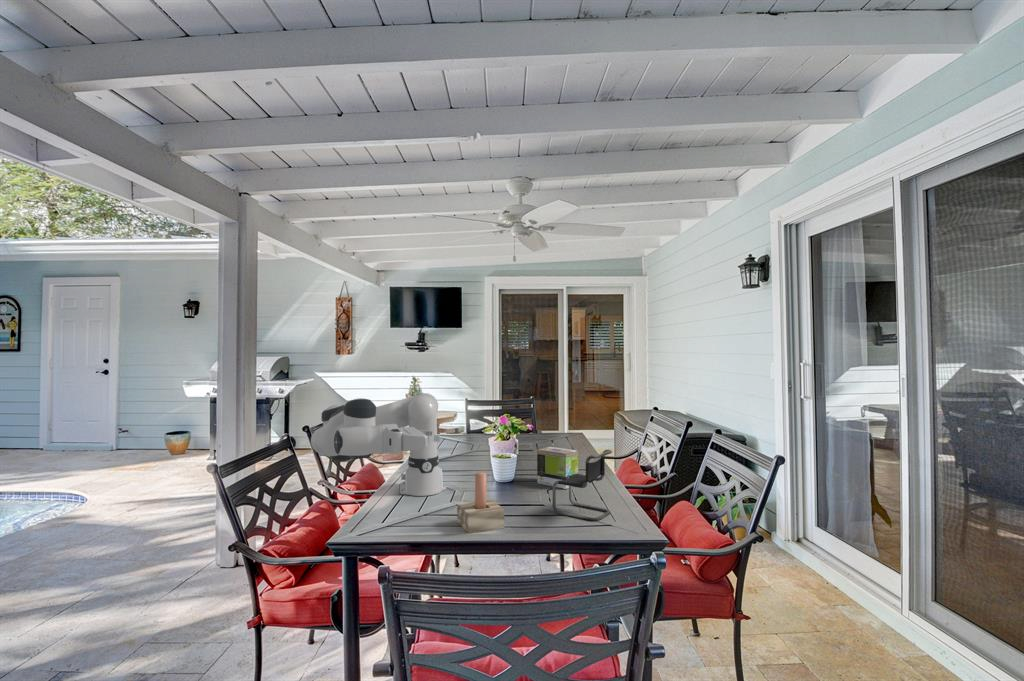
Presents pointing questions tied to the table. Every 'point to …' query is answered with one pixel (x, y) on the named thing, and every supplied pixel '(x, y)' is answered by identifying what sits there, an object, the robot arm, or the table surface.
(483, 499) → the dowel
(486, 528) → the socket block
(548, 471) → the tea box
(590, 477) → the chair
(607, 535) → the table surface
